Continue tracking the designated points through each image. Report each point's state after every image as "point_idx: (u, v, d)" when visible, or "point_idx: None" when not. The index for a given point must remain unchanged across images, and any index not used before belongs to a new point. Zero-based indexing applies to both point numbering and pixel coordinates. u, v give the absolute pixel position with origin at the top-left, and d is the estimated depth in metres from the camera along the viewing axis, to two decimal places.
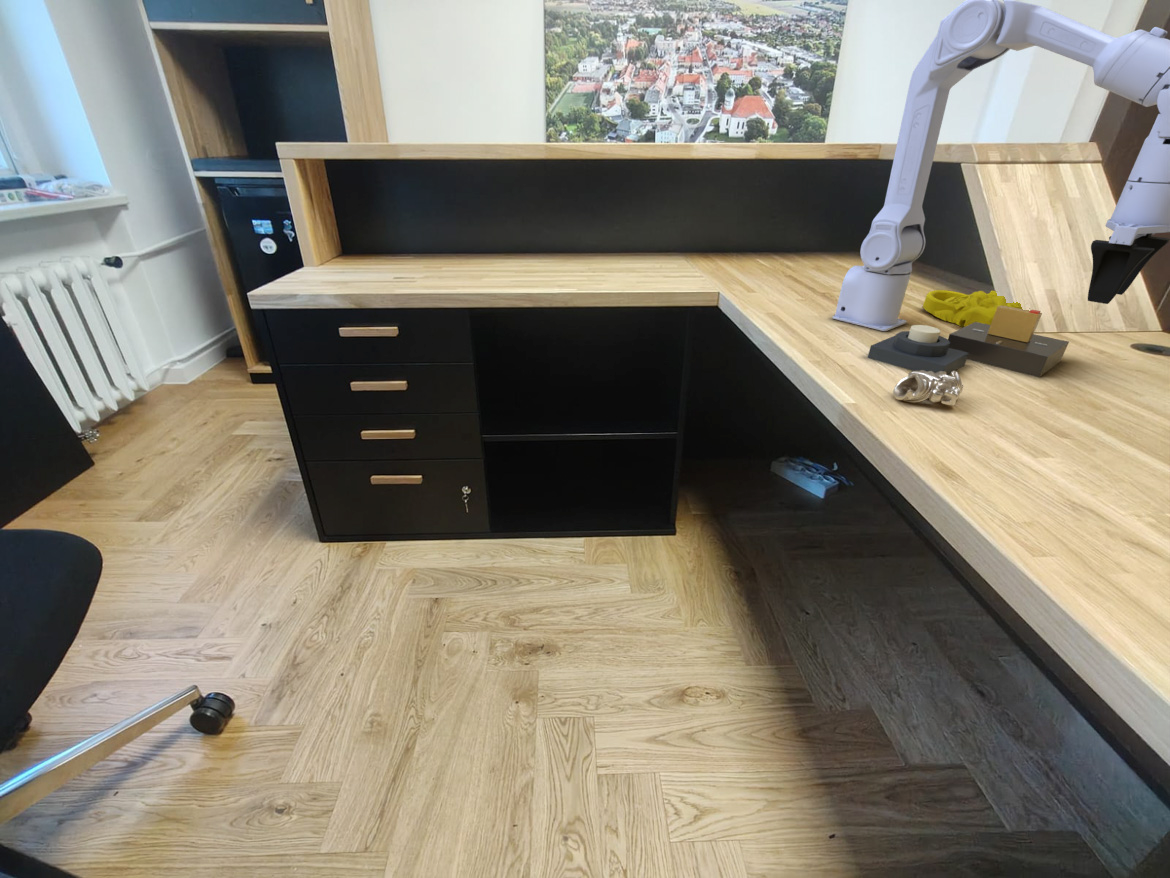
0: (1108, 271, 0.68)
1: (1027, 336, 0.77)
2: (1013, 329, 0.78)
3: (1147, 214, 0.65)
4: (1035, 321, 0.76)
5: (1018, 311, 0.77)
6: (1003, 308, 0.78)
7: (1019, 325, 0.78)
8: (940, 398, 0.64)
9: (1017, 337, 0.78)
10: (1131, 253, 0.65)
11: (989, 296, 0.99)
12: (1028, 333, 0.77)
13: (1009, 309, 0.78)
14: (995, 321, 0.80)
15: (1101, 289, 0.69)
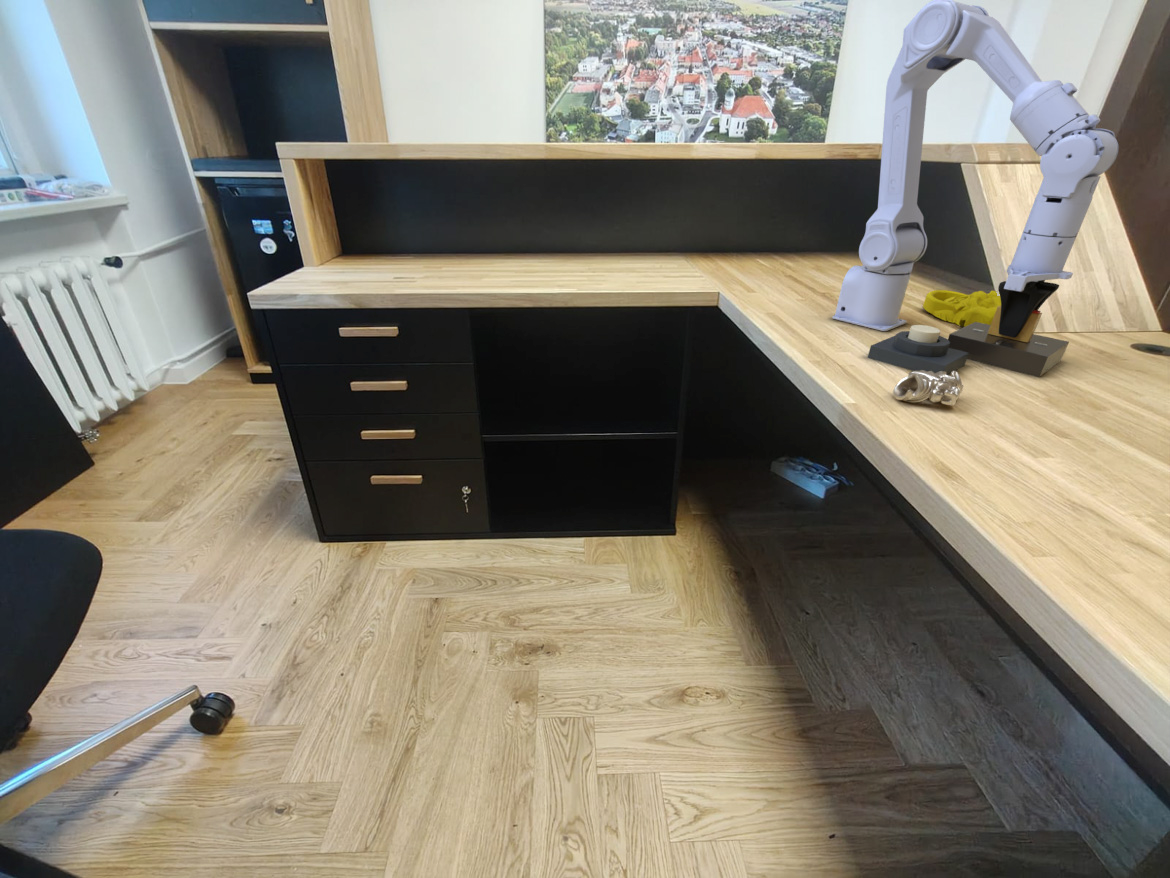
0: (1014, 309, 0.77)
1: (1027, 336, 0.77)
2: None
3: (1038, 263, 0.72)
4: (1035, 321, 0.76)
5: None
6: None
7: None
8: (940, 398, 0.64)
9: (1017, 337, 0.78)
10: (1030, 295, 0.74)
11: (989, 296, 0.99)
12: (1028, 333, 0.77)
13: None
14: (995, 321, 0.80)
15: (1009, 324, 0.78)
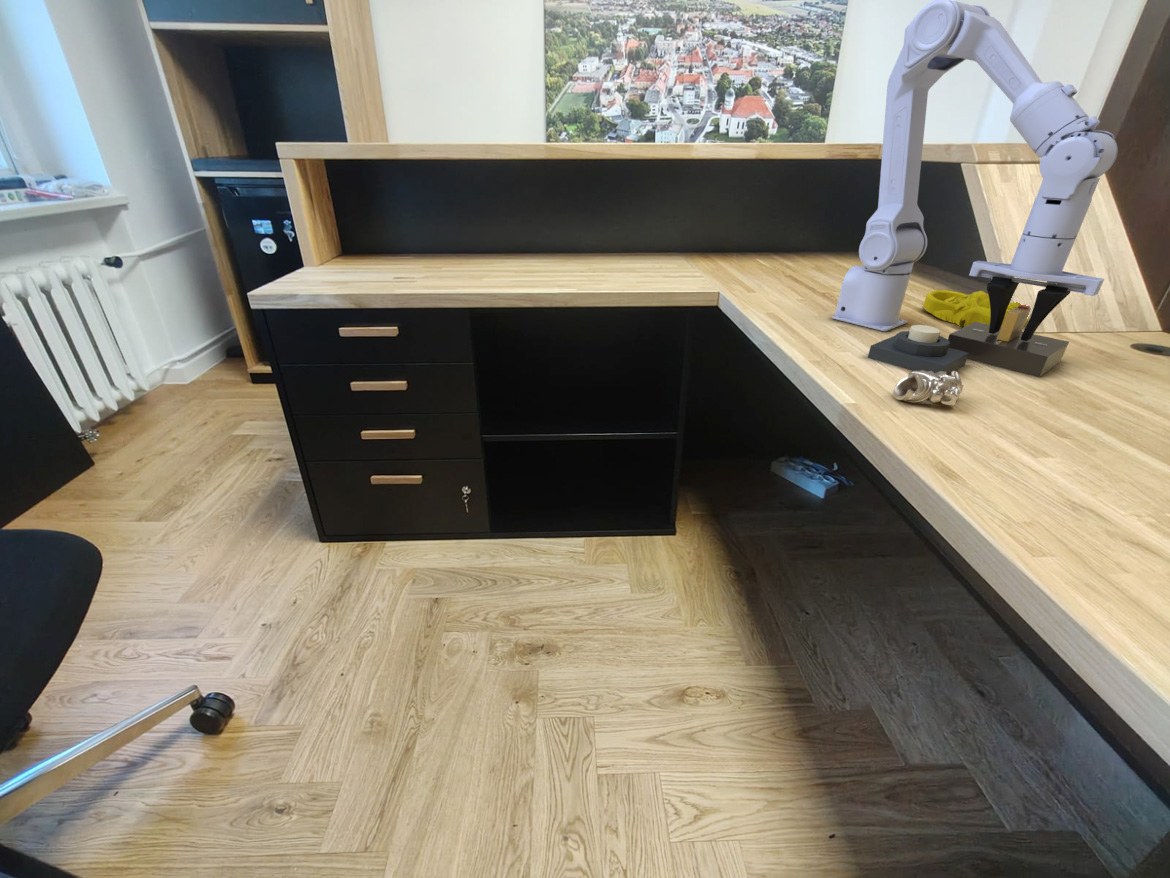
0: None
1: (1021, 329, 0.80)
2: (1018, 328, 0.79)
3: (1064, 264, 0.73)
4: (1027, 314, 0.79)
5: (1024, 311, 0.77)
6: (1020, 313, 0.76)
7: (1022, 323, 0.79)
8: (940, 398, 0.64)
9: (1018, 334, 0.79)
10: (1065, 296, 0.74)
11: None
12: (1022, 327, 0.80)
13: (1021, 312, 0.77)
14: (1014, 327, 0.77)
15: (1033, 329, 0.77)
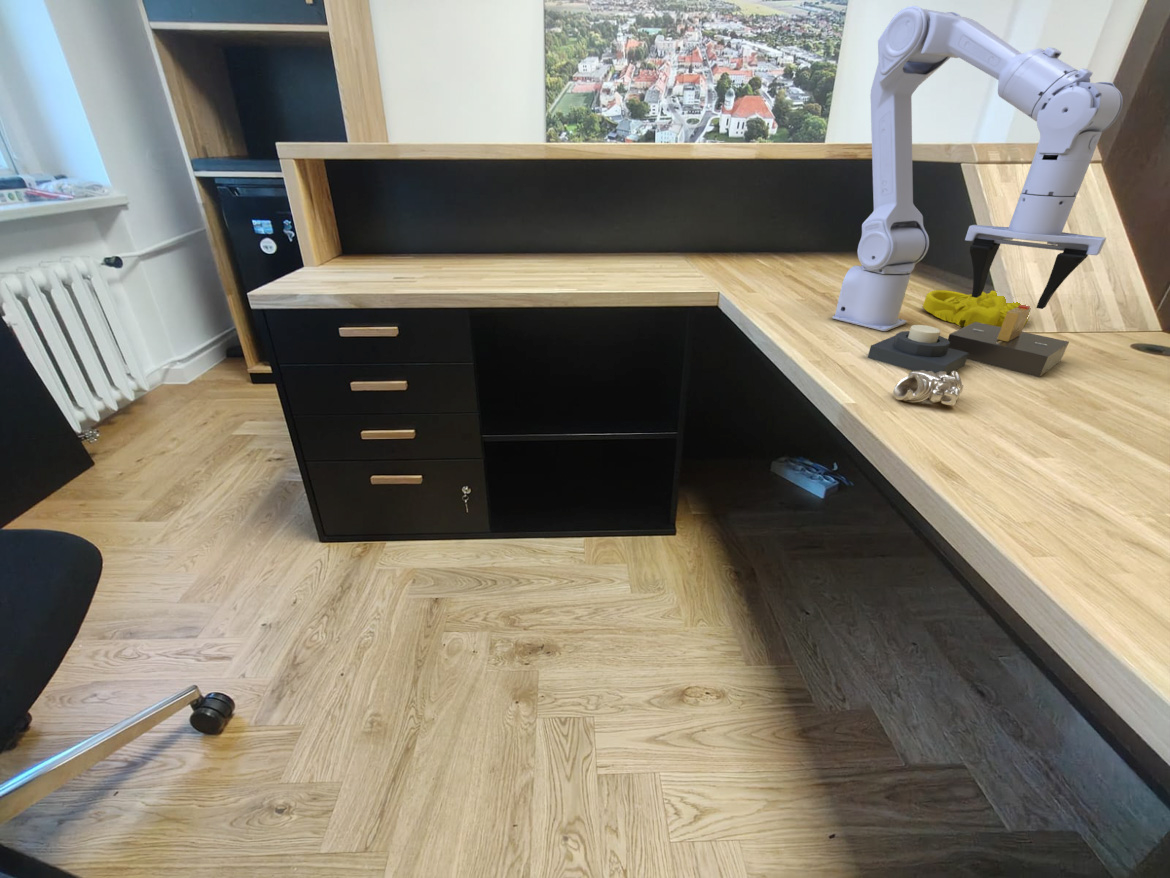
0: None
1: (1021, 329, 0.80)
2: (1018, 328, 0.79)
3: (1064, 224, 0.70)
4: (1027, 314, 0.79)
5: (1024, 311, 0.77)
6: (1020, 313, 0.76)
7: (1022, 323, 0.79)
8: (940, 398, 0.64)
9: (1018, 334, 0.79)
10: None
11: (989, 296, 0.99)
12: (1022, 327, 0.80)
13: (1021, 312, 0.77)
14: (1014, 327, 0.77)
15: (1050, 296, 0.73)
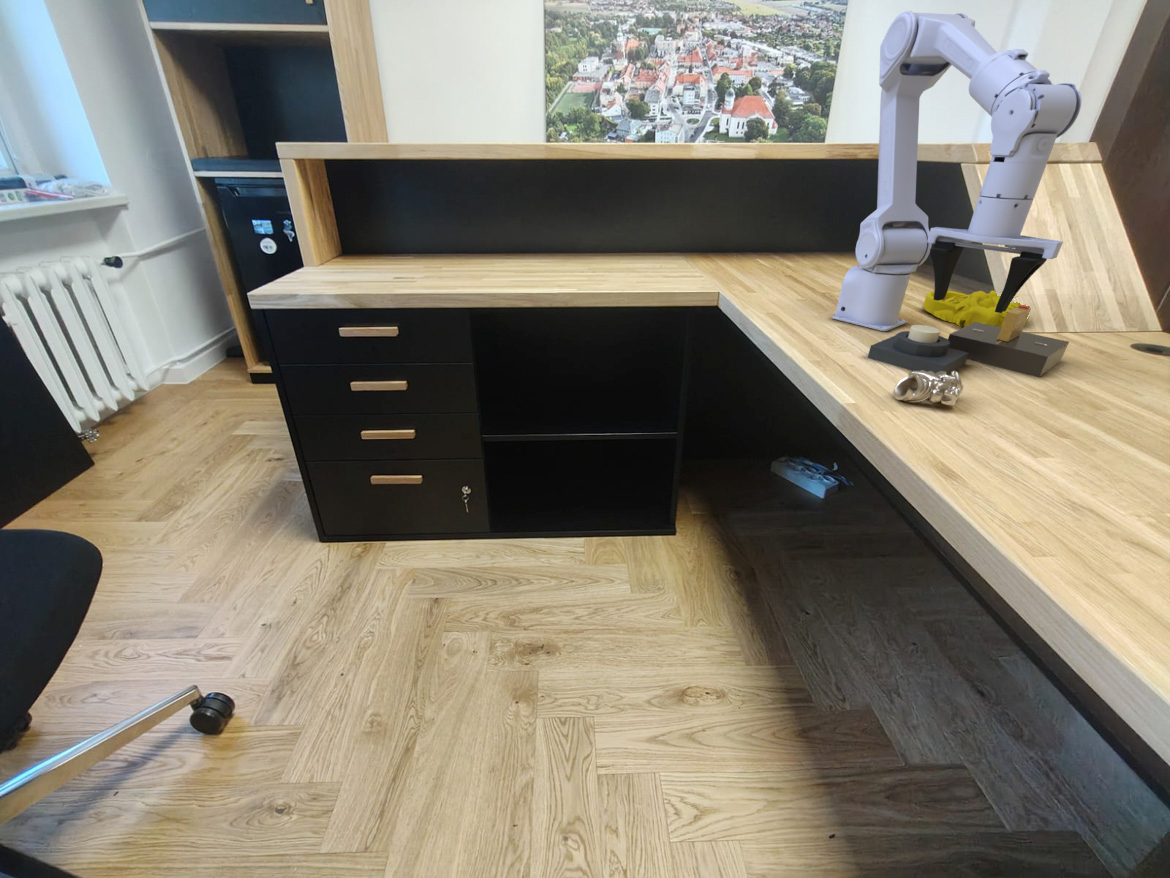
0: None
1: (1021, 329, 0.80)
2: (1018, 328, 0.79)
3: (1022, 227, 0.69)
4: (1027, 314, 0.79)
5: (1024, 311, 0.77)
6: (1020, 313, 0.76)
7: (1022, 323, 0.79)
8: (940, 398, 0.64)
9: (1018, 334, 0.79)
10: (1041, 263, 0.70)
11: (989, 296, 0.99)
12: (1022, 327, 0.80)
13: (1021, 312, 0.77)
14: (1014, 327, 0.77)
15: (1008, 299, 0.72)
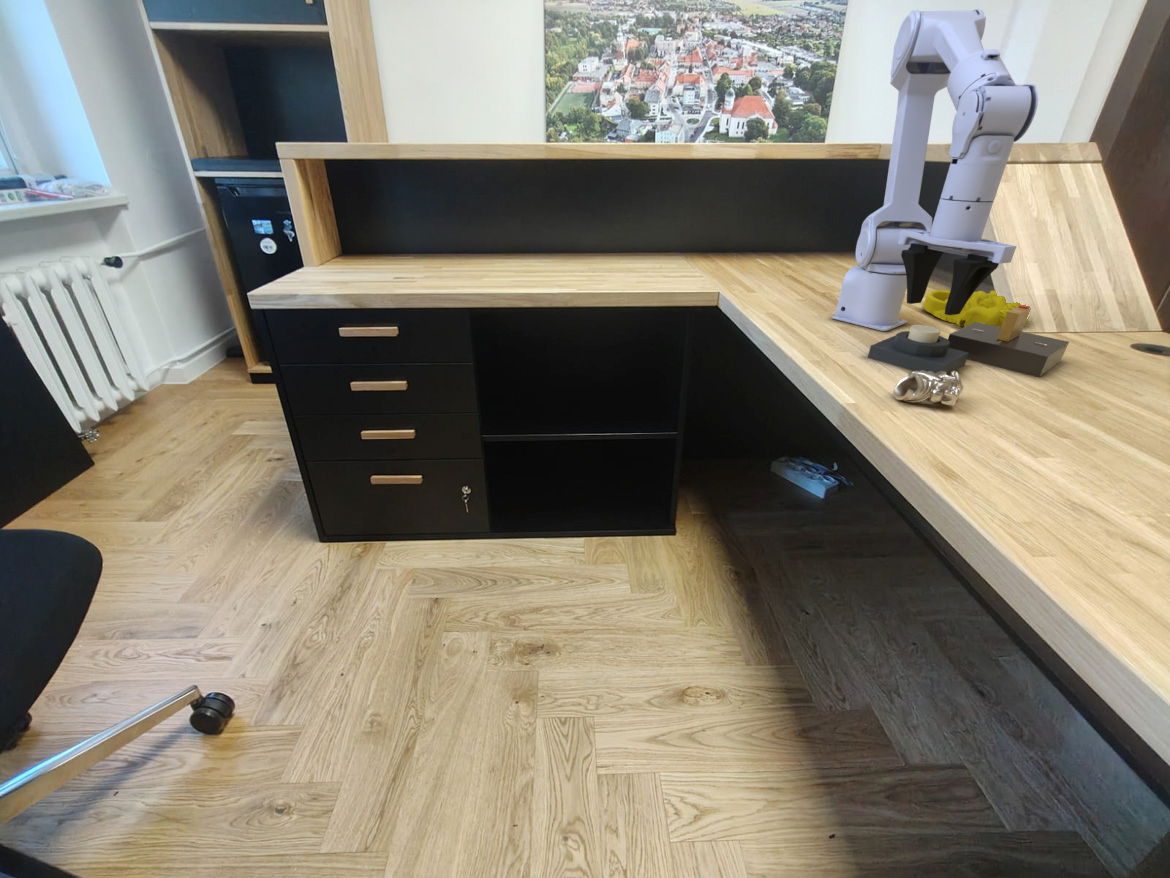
0: (964, 285, 0.71)
1: (1021, 329, 0.80)
2: (1018, 328, 0.79)
3: (981, 231, 0.68)
4: (1027, 314, 0.79)
5: (1024, 311, 0.77)
6: (1020, 313, 0.76)
7: (1022, 323, 0.79)
8: (940, 398, 0.64)
9: (1018, 334, 0.79)
10: (991, 267, 0.69)
11: (989, 296, 0.99)
12: (1022, 327, 0.80)
13: (1021, 312, 0.77)
14: (1014, 327, 0.77)
15: (958, 302, 0.72)
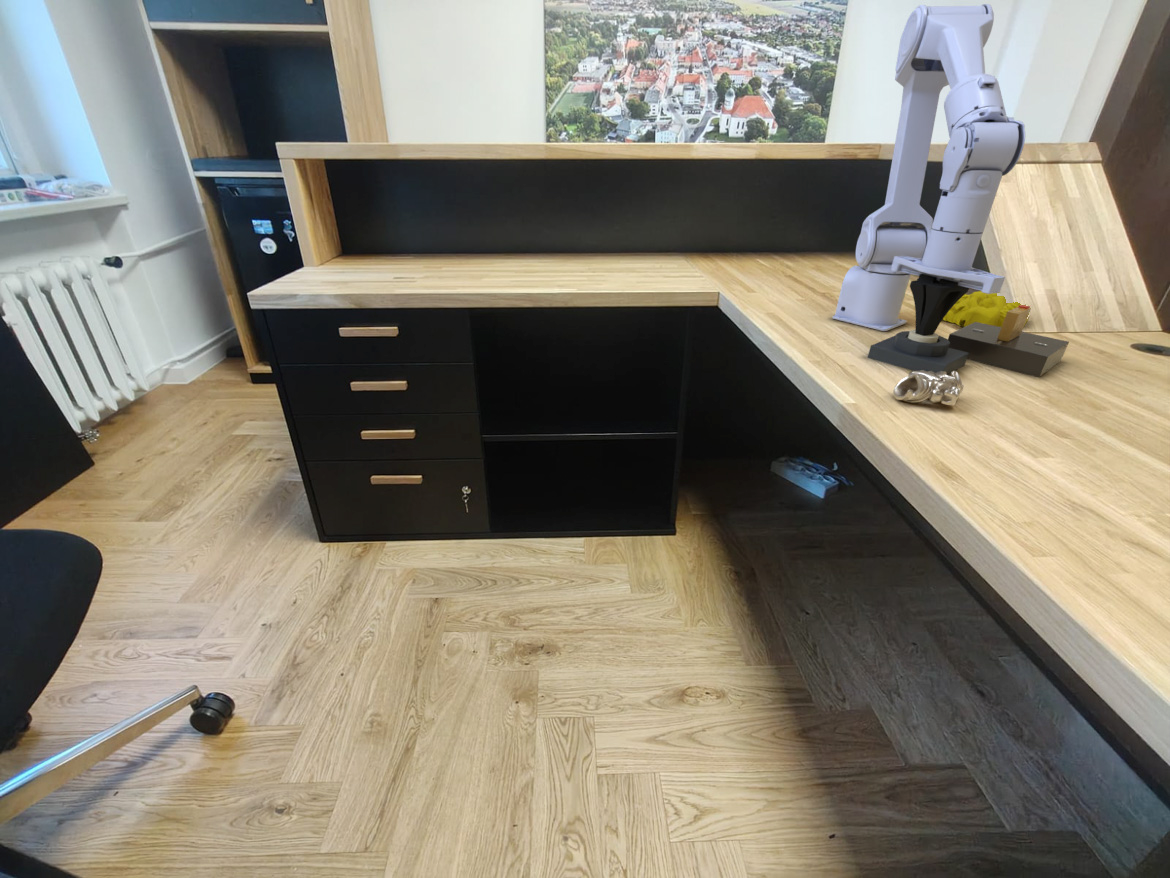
0: (936, 308, 0.74)
1: (1021, 329, 0.80)
2: (1018, 328, 0.79)
3: (971, 261, 0.70)
4: (1027, 314, 0.79)
5: (1024, 311, 0.77)
6: (1020, 313, 0.76)
7: (1022, 323, 0.79)
8: (940, 398, 0.64)
9: (1018, 334, 0.79)
10: (961, 291, 0.72)
11: (989, 296, 0.99)
12: (1022, 327, 0.80)
13: (1021, 312, 0.77)
14: (1014, 327, 0.77)
15: (932, 324, 0.75)
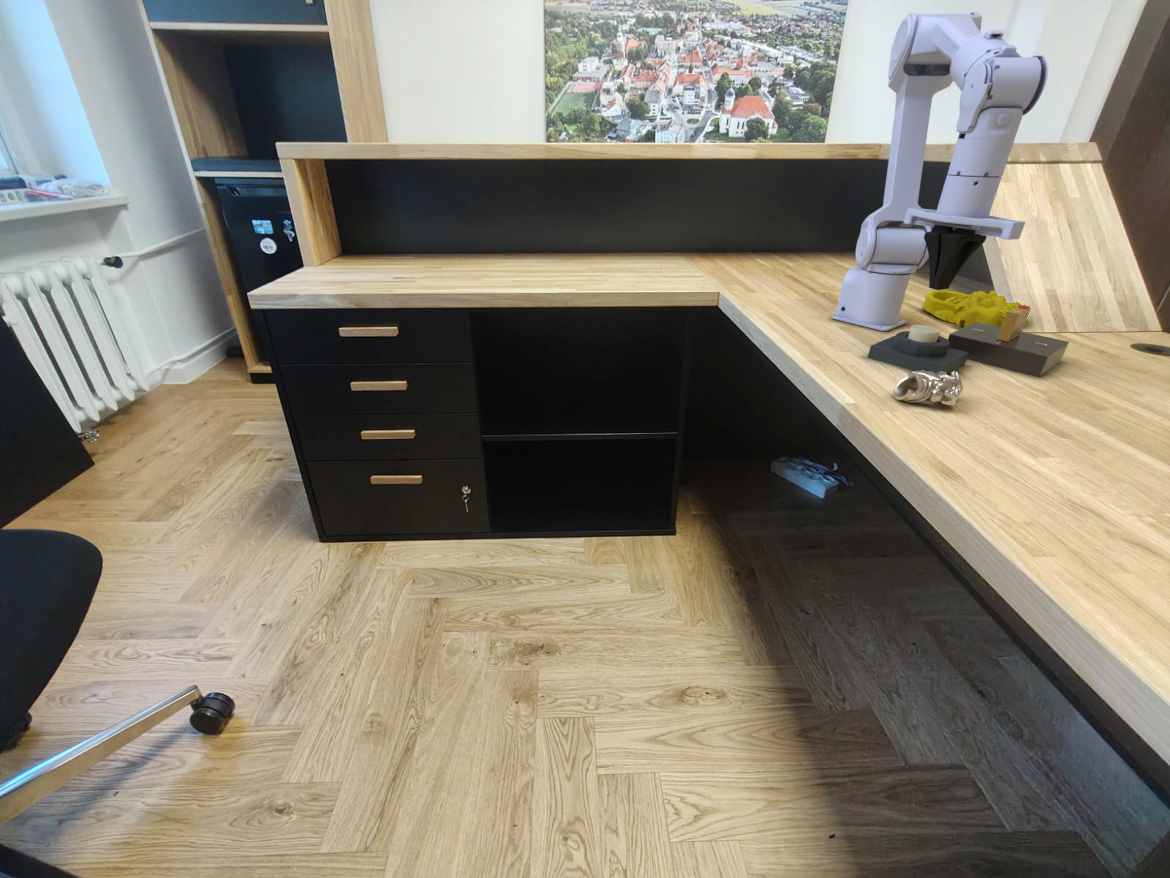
0: (952, 260, 0.71)
1: (1021, 329, 0.80)
2: (1018, 328, 0.79)
3: (989, 207, 0.67)
4: (1027, 314, 0.79)
5: (1024, 311, 0.77)
6: (1020, 313, 0.76)
7: (1022, 323, 0.79)
8: (940, 398, 0.64)
9: (1018, 334, 0.79)
10: (978, 241, 0.69)
11: (989, 296, 0.99)
12: (1022, 327, 0.80)
13: (1021, 312, 0.77)
14: (1014, 327, 0.77)
15: (947, 277, 0.72)
